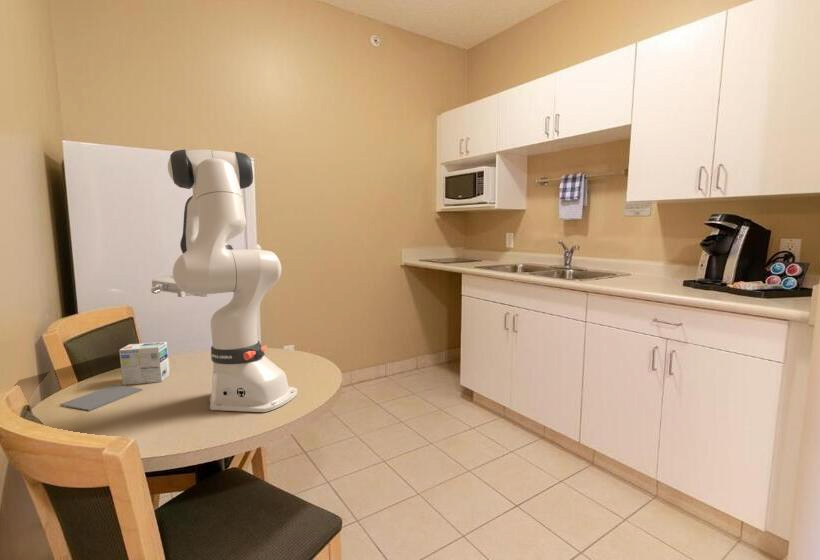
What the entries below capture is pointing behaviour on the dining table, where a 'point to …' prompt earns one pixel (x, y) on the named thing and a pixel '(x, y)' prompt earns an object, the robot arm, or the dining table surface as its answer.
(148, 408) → the dining table surface
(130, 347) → the light bulb box
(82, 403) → the mat
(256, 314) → the robot arm
